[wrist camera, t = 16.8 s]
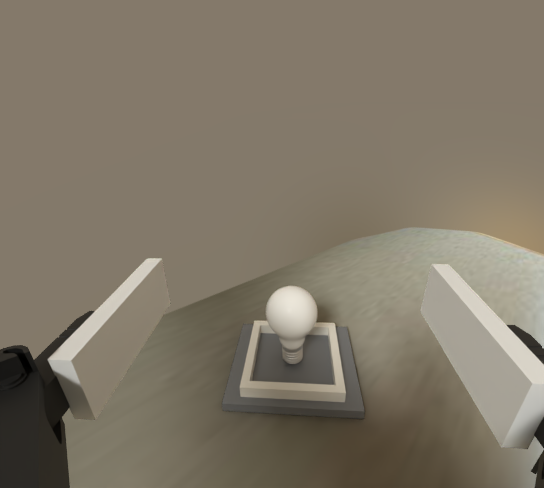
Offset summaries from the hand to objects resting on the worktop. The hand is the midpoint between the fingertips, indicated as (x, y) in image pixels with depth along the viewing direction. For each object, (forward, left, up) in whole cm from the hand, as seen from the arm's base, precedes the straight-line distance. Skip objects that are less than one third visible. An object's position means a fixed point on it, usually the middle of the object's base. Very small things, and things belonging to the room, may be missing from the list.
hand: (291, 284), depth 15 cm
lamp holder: (0, +17, -24) cm, 29 cm away
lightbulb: (0, +17, -23) cm, 28 cm away
